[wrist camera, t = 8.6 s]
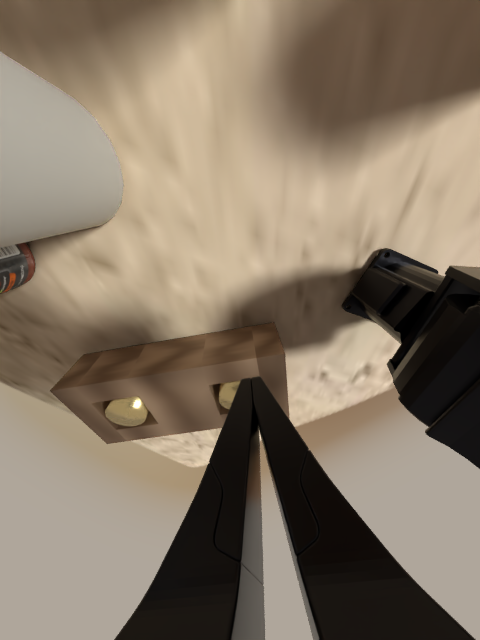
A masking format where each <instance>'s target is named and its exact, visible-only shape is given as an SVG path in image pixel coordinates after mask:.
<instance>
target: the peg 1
mask: <svg viewBox="0 0 480 640" xmlns="http://www.w3.org/2000/svg"><path fill="white" fill-rule="evenodd" d="M148 412H149V410H148V408H147V407H146V406H145V404H144V403H143V401H142V400H141V399H140V397H139V396H135V397H128V398H121V399H115V400H111V402H110V403H109V405H108V407H107V408H106V410H105V415H106V417H107V418H108V419H109V420H110V421H112V422H114V423H116V424H119V425H122V426H137V425H140V424H142V423H143V422H144V421H145V419H146V417H147V414H148Z"/></svg>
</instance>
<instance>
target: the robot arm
mask: <svg viewBox="0 0 480 640" xmlns="http://www.w3.org/2000/svg"><path fill="white" fill-rule="evenodd" d="M385 253H387V255H386V256H384V255H385ZM445 274H446V276H445V277H444V276H441V275H439V274H438V271H437V270H436V269H434V268H431V267H429V266H427V265H425V264H422V263H420V262H418V261H416V260H414V259H411V258H409V257H407V256H405V255H402V254H400V253H398V252H396V251H393V250H391V249H388V248H385V249H382V250H381V251H380V252H379V254H378V255H377V257H376V258H375V259H374V261H373V262H372V264H371V265H370V266H369V268H368V269H367V271H366V272H365V273H364V275H363V276H362V278H361V279H360V280H359V282H358V283H357V285H356V286H355V288H354V289H353V290H352V292H351V293H350V295H349V296H348V297H347V299H346V300H345V302H344V303H343V305H342V308H343V309H344V310H345V311H347V312H350V313H352V314H355V315H358V316H361V317H364V318H367V319H370V320H373V321H375V322H376V323H377V324H378V325H380V326H381V327H382V328H383V329H384V330H385V331H387V332H388V333H389V334H390V335H391V336H392V337H393V338H395V339H396V340H397V341H398V342H399V343H400V344H401V345H400V347H399V348H398V350H397V352H396V353H395V355H394V356H393V358H392V359H390V360H389V361H388V363H387V366H388V368H389V370H390V373H391V375H392V377H393V383H394V385H395V387H396V389H397V391H398V393H399V394H400V396H399V398H398V399H399V400H400V402H401V403H402V404H403V405H404V406H405V408H406V409H407V410H408V411H409V412H410V413H411V414H413V415H414V416H415V417H416V418H417V419H418V420H419V421H421V422H422V423H424V424H425V425H426V426H428V427H429V428H428V429H426V431H425V433H426V434H427V435H428V436H429V437H431V438H433V439H435V440H437V441H439V442H441V443H443V444H445V445H446V446H448V447H450V448H451V449H453V450H454V451H456V452H457V453H459V454H461V455H462V456H464V457H465V458H466V459H468V460H469V461H470V462H472V463H473V464H474V465H475V466H477V467H478V468H479V469H480V267H464V266H449V268H448V269H447V271H446V273H445ZM348 305H349V306H348ZM347 306H348V307H347ZM346 307H347V308H346ZM259 430H260V434H261V439H262V442H263V446H264V450H265V454H266V458H267V462H268V466H269V470H270V473H271V477H272V481H273V485H274V488H275V493H276V497H277V501H278V504H279V508H280V512H281V516H282V519H283V524H284V527H285V531H286V535H287V539H288V543H289V546H290V551H291V555H292V558H293V562H294V566H295V570H296V574H297V578H298V581H299V586H300V589H301V593H302V597H303V601H304V605H305V609H306V612H307V616H308V621H309V624H310V628H311V632H312V636H313V640H475V639H474V638H473V637H472V636H471V635H470V634H469V633H468V632H467V631H466V630H465V629H464V628H463V627H462V626H461V625H460V624H459V623H458V622H457V621H456V620H454V619H453V618H452V617H451V616H450V615H449V614H448V613H447V612H446V611H445V610H444V609H443V608H442V607H441V606H440V605H439V604H438V603H437V602H436V601H435V600H434V599H432V598H431V596H430V595H428V594H427V593H426V592H425V591H424V590H423V589H422V588H421V587H420V586H419V585H418V584H417V583H416V581H415V580H413V578H412V577H411V576H410V575H409V574H408V573H407V572H406V571H405V570H404V569H403V568H402V566H401V565H400V564H399V563H398V562H397V561H396V560H395V558H394V557H393V556H392V555H391V554H390V553H389V551H388V550H387V549H386V548H385V547H384V545H383V544H382V543H381V542H380V541H379V539H378V538H377V537H376V536H375V534H374V533H373V532H372V531H371V529H370V528H369V527H368V526H367V525H366V523H365V522H364V521H363V520H362V518H361V517H360V516H359V515H358V514H357V512H356V511H355V510H354V509H353V507H352V506H351V505H350V504H349V503H348V501H347V500H346V499H345V498H344V496H343V495H342V494H341V493H340V491H339V490H338V489H337V487H336V486H335V485H334V484H333V482H332V481H331V480H330V478H329V477H328V476H327V474H326V473H325V471H324V470H323V468H322V467H321V466H320V464H319V463H318V461H317V460H316V458H315V457H314V455H313V454H312V452H311V451H310V450H309V449H308V447H307V445H306V444H305V442H304V441H303V439H302V438H301V436H300V435H299V433H298V432H297V430H296V429H295V427H294V426H293V424H292V423H291V421H290V420H289V418H288V417H287V415H286V414H285V412H284V411H283V409H282V408H281V406H280V405H279V403H278V402H277V400H276V399H275V397H274V396H273V394H272V393H271V391H270V390H269V388H268V387H267V385H266V384H265V382H264V381H263V379H262V378H261V377H260V376H256V377H252V378H243V379H241V381H240V383H239V386H238V389H237V391H236V394H235V396H234V399H233V401H232V404H231V407H230V409H229V412H228V414H227V417H226V419H225V422H224V425H223V427H222V430H221V432H220V435H219V437H218V440H217V443H216V445H215V448H214V450H213V453H212V455H211V458H210V461H209V462H210V463H209V464H208V465H207V468H206V471H205V473H204V476H203V478H202V480H201V483H200V485H199V488H198V490H197V493H196V495H195V497H194V499H193V501H192V503H191V505H190V508H189V510H188V512H187V514H186V516H185V518H184V520H183V522H182V524H181V526H180V528H179V530H178V532H177V534H176V536H175V538H174V540H173V542H172V544H171V546H170V548H169V550H168V552H167V554H166V556H165V558H164V560H163V562H162V564H161V566H160V568H159V570H158V572H157V574H156V576H155V578H154V580H153V582H152V584H151V585H150V587H149V589H148V591H147V592H146V594H145V596H144V597H143V599H142V601H141V602H140V604H139V605H138V607H137V609H136V610H135V611H134V613H133V614H132V616H131V617H130V619H129V620H128V621H127V623H126V624H125V626H124V627H123V628H122V630H121V631H120V633H119V634H118V635H117V637H116V638H115V639H114V640H265V619H264V586H263V549H262V512H261V478H260V477H261V476H260V439H259Z"/></svg>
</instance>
